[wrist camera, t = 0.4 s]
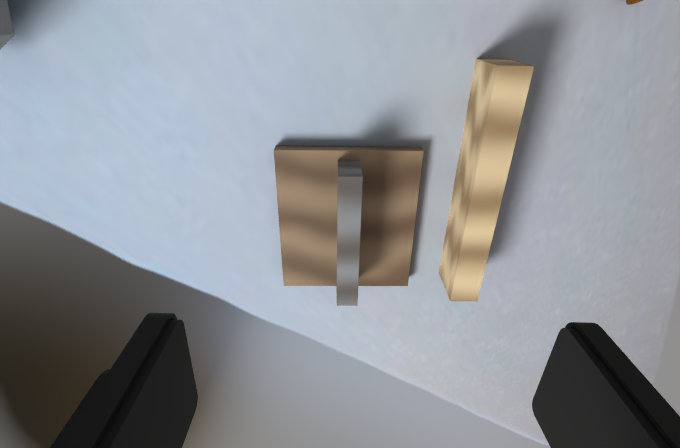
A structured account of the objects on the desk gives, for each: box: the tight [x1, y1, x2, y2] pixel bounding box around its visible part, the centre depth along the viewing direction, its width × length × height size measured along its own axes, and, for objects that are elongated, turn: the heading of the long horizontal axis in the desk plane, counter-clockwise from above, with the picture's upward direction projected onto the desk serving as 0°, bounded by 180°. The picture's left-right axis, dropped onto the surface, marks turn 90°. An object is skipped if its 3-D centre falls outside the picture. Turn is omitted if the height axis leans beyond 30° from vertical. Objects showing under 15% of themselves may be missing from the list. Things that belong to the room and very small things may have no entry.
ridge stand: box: [274, 146, 424, 305], centre depth 44 cm, size 18×16×6 cm
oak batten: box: [439, 59, 534, 301], centre depth 42 cm, size 26×3×6 cm, turn 179°
